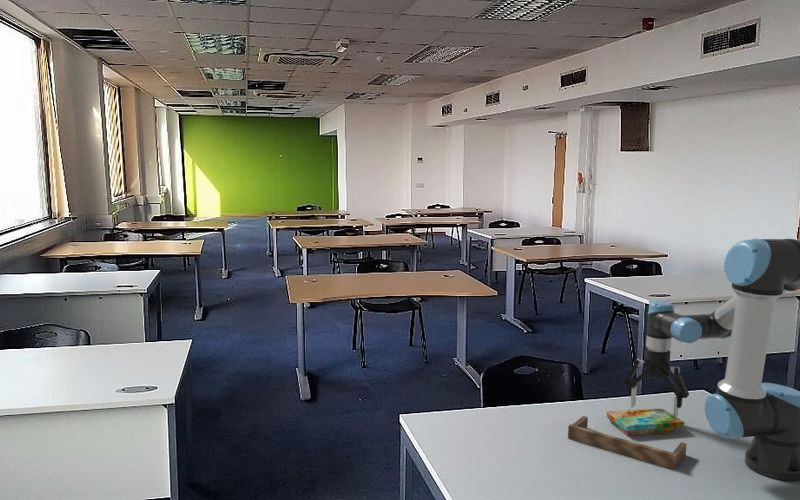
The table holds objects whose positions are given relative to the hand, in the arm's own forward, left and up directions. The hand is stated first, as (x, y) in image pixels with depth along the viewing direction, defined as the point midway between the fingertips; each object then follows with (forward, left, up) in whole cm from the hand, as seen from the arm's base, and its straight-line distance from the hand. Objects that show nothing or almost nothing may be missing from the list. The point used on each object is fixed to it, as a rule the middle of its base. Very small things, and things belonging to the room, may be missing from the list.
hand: (653, 411), depth 207 cm
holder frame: (0, +27, -3) cm, 27 cm away
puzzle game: (0, +9, -3) cm, 10 cm away
